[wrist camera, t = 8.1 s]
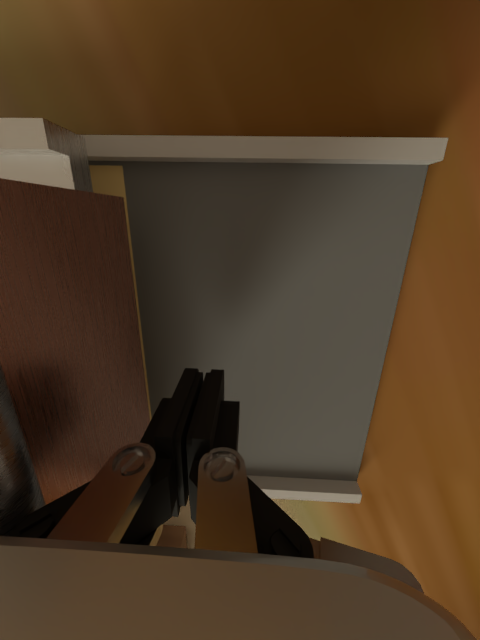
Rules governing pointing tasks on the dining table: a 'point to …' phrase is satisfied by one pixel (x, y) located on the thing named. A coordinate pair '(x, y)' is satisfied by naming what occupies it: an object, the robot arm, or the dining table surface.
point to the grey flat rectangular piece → (271, 282)
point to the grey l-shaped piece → (62, 321)
